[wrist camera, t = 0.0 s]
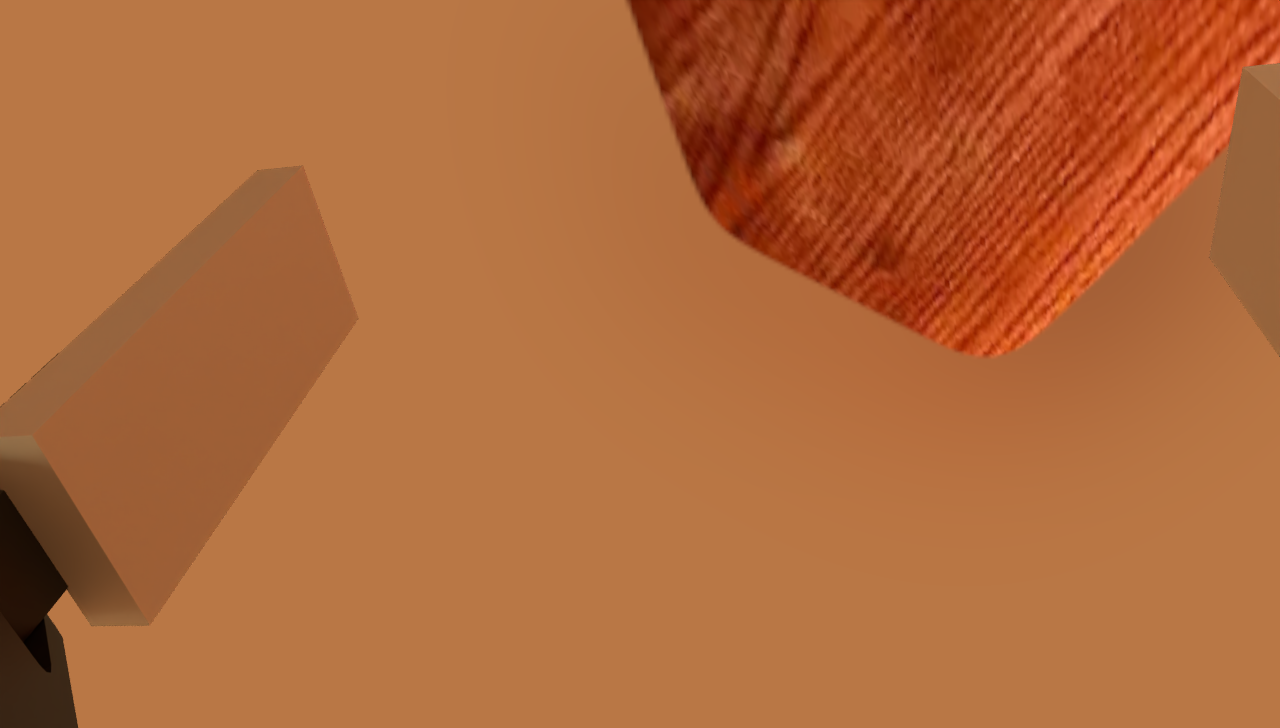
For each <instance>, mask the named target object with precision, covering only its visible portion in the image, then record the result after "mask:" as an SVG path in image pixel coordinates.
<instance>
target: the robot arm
mask: <svg viewBox="0 0 1280 728" xmlns="http://www.w3.org/2000/svg"><path fill="white" fill-rule="evenodd" d="M1209 258H1210V259H1211V261H1212V262H1213V263H1214V265H1215V266H1216V268H1217V269H1218V270H1219V272H1220V273H1221V275H1222V276H1223V277H1224V279H1225V280H1226V282H1227V283H1228V285H1229V286H1230V287H1231V289H1232V290H1233V291H1234V293H1235V294H1236V296H1237V297H1238V299H1239V300H1240V302H1241V303H1242V304H1243V306H1244V307H1245V309H1246V310H1247V311H1248V313H1249V314H1250V316H1251V317H1252V318H1253V320H1254V321H1255V323H1256V324H1257V326H1258V327H1259V328H1260V330H1261V331H1262V333H1263V334H1264V335H1265V337H1266V338H1267V340H1268V341H1269V342H1270V344H1271V345H1272V347H1273V348H1274V350H1275V351H1276V352H1277V354H1278V355H1279V357H1280V63H1277V64H1268V65H1258V66H1249V67H1243V69H1242V74H1241V80H1240V86H1239V91H1238V97H1237V103H1236V108H1235V114H1234V120H1233V126H1232V131H1231V137H1230V143H1229V148H1228V154H1227V160H1226V165H1225V171H1224V177H1223V183H1222V188H1221V195H1220V200H1219V206H1218V211H1217V217H1216V223H1215V228H1214V235H1213V240H1212V245H1211V251H1210V257H1209ZM357 320H358V316H357V313H356V310H355V307H354V305H353V302H352V299H351V297H350V294H349V291H348V289H347V286H346V283H345V281H344V278H343V275H342V272H341V269H340V266H339V264H338V261H337V258H336V256H335V253H334V250H333V247H332V244H331V242H330V239H329V236H328V233H327V231H326V228H325V225H324V222H323V220H322V217H321V214H320V211H319V209H318V206H317V203H316V200H315V198H314V195H313V192H312V190H311V187H310V184H309V181H308V179H307V176H306V173H305V170H304V167H303V166H294V167H285V168H276V169H266V170H257V171H256V172H255V173H254V174H253V175H252V176H251V177H250V178H249V179H248V180H247V181H246V182H244V183H243V184H242V185H241V186H240V187H239V188H238V189H237V190H236V191H235V192H234V193H232V194H231V195H230V196H229V197H228V198H227V199H226V200H225V201H224V202H223V203H222V204H221V205H219V206H218V207H217V208H216V209H215V210H214V211H213V212H212V213H211V214H210V215H209V216H208V217H207V218H205V219H204V220H203V221H202V222H201V223H200V224H199V225H198V226H197V227H196V228H194V229H193V230H192V231H191V232H190V233H189V234H188V235H187V236H186V237H185V238H184V239H182V240H181V241H180V242H179V243H178V244H177V245H176V246H175V247H174V248H173V249H172V250H171V251H169V252H168V253H167V254H166V255H165V256H164V257H163V258H162V259H161V260H160V261H159V262H158V263H156V264H155V265H154V266H153V267H152V268H151V269H150V270H149V271H148V272H147V273H146V274H145V275H143V276H142V277H141V278H140V279H139V280H138V281H137V282H136V283H135V284H134V285H133V286H132V287H130V288H129V289H128V290H127V291H126V292H125V293H124V294H123V295H122V296H121V297H120V298H118V299H117V300H116V301H115V302H114V303H113V304H112V305H111V306H110V307H109V308H108V309H107V310H106V311H104V312H103V313H102V314H101V315H100V316H99V317H98V318H97V319H96V320H95V321H93V322H92V323H91V324H90V325H89V326H88V327H87V328H86V329H85V330H84V331H83V332H82V333H80V334H79V335H78V336H77V337H76V338H75V339H74V340H73V341H72V342H71V343H70V344H69V345H67V347H65V348H64V349H63V350H62V351H61V352H60V353H58V354H57V355H56V356H55V357H54V358H53V359H52V360H51V361H49V362H48V363H47V364H46V365H45V366H44V367H43V368H42V369H41V370H40V371H39V372H37V374H35V375H34V376H33V377H32V378H31V380H29V381H28V382H27V383H25V384H24V385H23V386H22V387H21V388H20V389H19V390H18V391H17V392H16V393H15V394H14V395H13V396H11V397H10V399H9V400H8V401H7V402H6V403H4V404H3V405H2V406H1V407H0V728H78V724H77V718H76V713H75V707H74V702H73V695H72V690H71V685H70V678H69V672H68V667H67V661H66V655H65V649H64V644H63V638H62V636H61V634H60V633H59V631H58V629H57V628H56V626H55V625H54V624H53V622H52V621H51V619H50V618H49V616H48V615H47V613H48V612H49V611H50V609H51V608H52V607H53V606H54V604H55V603H56V602H57V600H58V599H59V598H60V597H61V596H62V594H63V593H64V592H65V591H66V589H67V590H68V592H69V593H70V595H71V596H72V598H73V599H74V601H75V602H76V603H77V605H78V607H79V608H80V610H81V611H82V613H83V614H84V616H85V617H86V619H87V620H88V622H89V623H90V625H91V626H147V625H148V626H149V625H151V623H152V622H153V620H154V619H155V617H156V616H157V615H158V613H159V612H160V610H161V609H162V607H163V606H164V604H165V603H166V601H167V600H168V598H169V597H170V595H171V594H172V592H173V591H174V590H175V588H176V587H177V585H178V583H179V582H180V581H181V579H182V578H183V576H184V575H185V573H186V572H187V570H188V569H189V567H190V566H191V565H192V563H193V562H194V560H195V559H196V557H197V556H198V554H199V553H200V551H201V550H202V548H203V547H204V545H205V544H206V542H207V541H208V539H209V538H210V536H211V535H212V533H213V532H214V531H215V529H216V528H217V526H218V525H219V523H220V522H221V520H222V519H223V517H224V516H225V514H226V513H227V511H228V510H229V508H230V507H231V506H232V504H233V503H234V501H235V500H236V498H237V497H238V495H239V494H240V492H241V491H242V489H243V488H244V486H245V485H246V484H247V482H248V480H249V479H250V478H251V476H252V475H253V473H254V472H255V470H256V469H257V467H258V466H259V464H260V463H261V461H262V460H263V458H264V457H265V456H266V454H267V453H268V451H269V450H270V448H271V447H272V445H273V444H274V442H275V441H276V439H277V438H278V436H279V435H280V433H281V432H282V430H283V429H284V428H285V426H286V425H287V423H288V422H289V420H290V419H291V417H292V416H293V414H294V413H295V411H296V410H297V408H298V407H299V405H300V404H301V403H302V401H303V399H304V398H305V397H306V395H307V394H308V392H309V390H310V389H311V388H312V386H313V385H314V383H315V382H316V380H317V379H318V377H319V376H320V375H321V373H322V372H323V370H324V369H325V367H326V366H327V364H328V363H329V361H330V360H331V358H332V357H333V355H334V354H335V352H336V351H337V349H338V348H339V347H340V345H341V343H342V342H343V341H344V339H345V338H346V336H347V335H348V333H349V332H350V330H351V329H352V327H353V326H354V324H355V323H356V321H357Z"/></svg>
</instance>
